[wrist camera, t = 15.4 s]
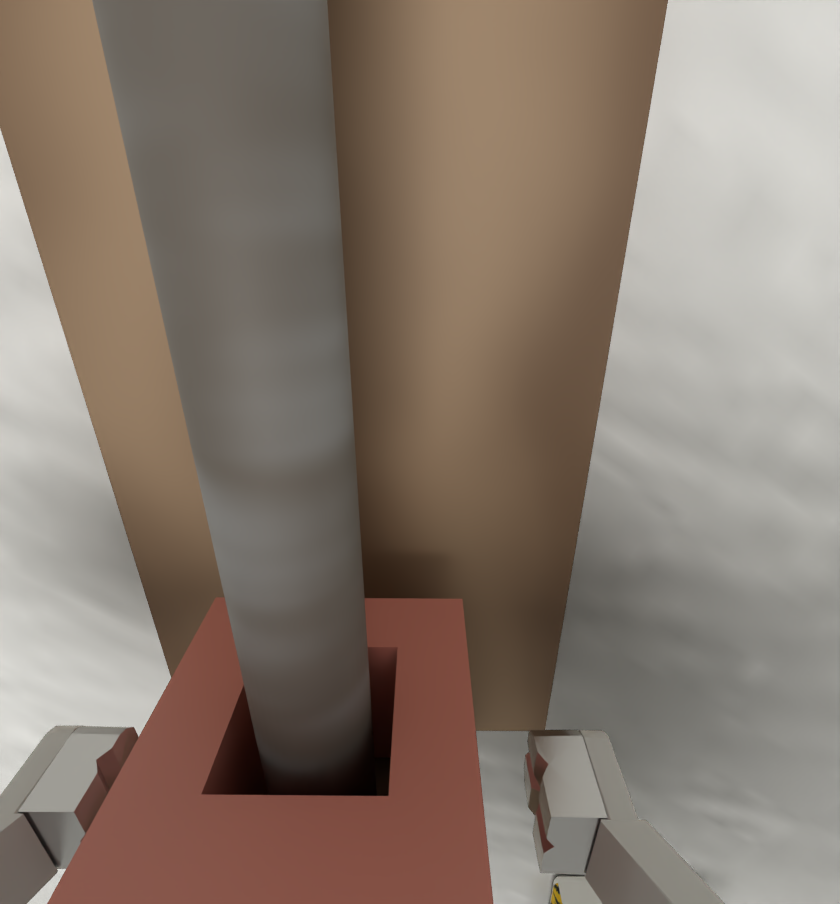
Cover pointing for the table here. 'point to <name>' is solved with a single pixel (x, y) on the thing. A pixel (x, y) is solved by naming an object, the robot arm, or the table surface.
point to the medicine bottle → (573, 891)
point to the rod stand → (338, 317)
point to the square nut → (298, 816)
